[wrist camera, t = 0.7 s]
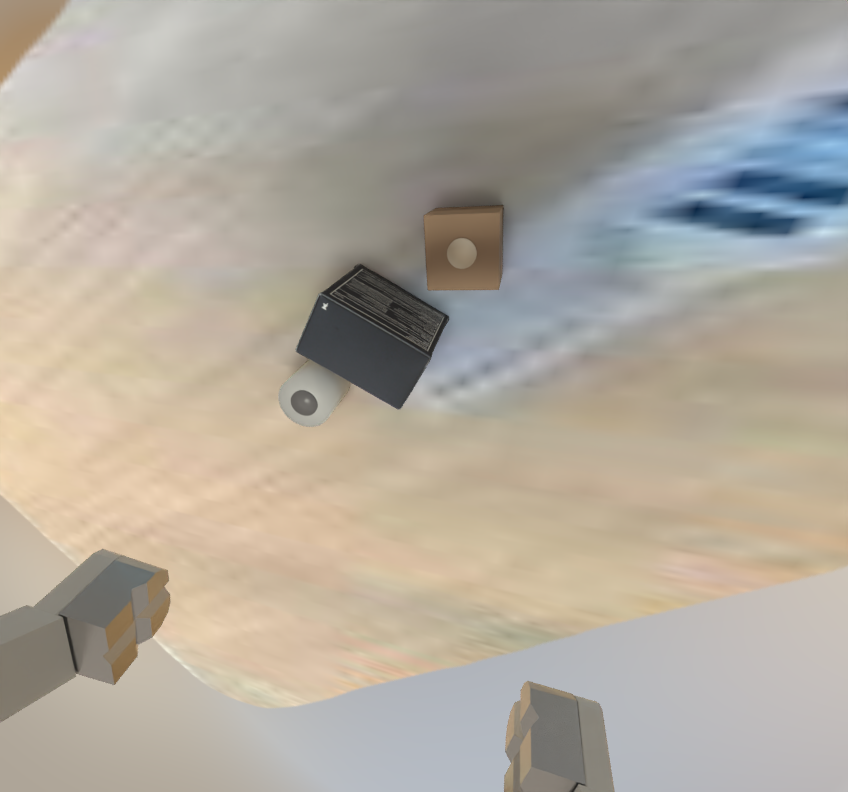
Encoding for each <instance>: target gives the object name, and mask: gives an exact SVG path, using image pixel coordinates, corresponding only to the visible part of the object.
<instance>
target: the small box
mask: <svg viewBox="0 0 848 792" xmlns="http://www.w3.org/2000/svg"><path fill="white" fill-rule="evenodd" d="M448 321H449V317H448V316H447V315H445V314H443V313H442V312H440V311H438V310H437V309H435V308H433V307H432V306H430V305H428V304H426V303H425V302H423V301H421V300H420V299H418V298H416V297H415V296H413V295H411V294H410V293H408V292H406V291H405V290H403V289H401V288H400V287H398V286H396V285H395V284H393V283H391V282H389V281H388V280H386V279H384V278H383V277H381V276H379V275H378V274H376V273H374V272H372V271H371V270H369V269H367V268H365V267H364V266H362V265H361V264H360V265H357V266H355V267H354V269H353V270H352V271H350V272H349V273H348V274H346V275H345V276H343V277H342V278H341V279H340V280H338V281H337V282H336V283H334V284H333V285H332V286H330V287H329V288H328V289H326V290H325V291H323V292H321V293H319V294H318V297H317V300H316V302H315V304H314V307H313V309H312V312H311V314H310V316H309V319H308V321H307V324H306V326H305V328H304V331H303V333H302V335H301V338H300V340H299V343H298V345H297V347H296V352H297V353H299V354H301V355H303V356H305V357H307V358H308V359H310V360H312V361H313V362H315V363H317V364H319V365H321V366H322V367H324V368H326V369H328V370H330V371H331V372H333V373H335V374H337V375H338V376H340V377H342V378H344V379H346V380H347V381H349V382H351V383H353V384H354V385H356V386H358V387H360V388H361V389H363V390H365V391H367V392H368V393H370V394H372V395H374V396H375V397H377V398H379V399H381V400H382V401H384V402H386V403H388V404H389V405H391V406H393V407H395V408H396V409H401V407H402V406H403V404H404V403H405V401H406V400H407V398H408V396H409V395H410V393H411V392H412V390H413V388H414V387H415V385H416V383H417V382H418V380H419V378H420V377H421V375H422V373H423V371H424V370H425V368H426V366H427V365H428V363H429V362H430V360H431V357H432V352H433V351H434V348H435V346H436V344H437V342H438V340H439V338H440V336H441V333H442V331H443V329H444V327H445V326H446V324H447V322H448Z"/></svg>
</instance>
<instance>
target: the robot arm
mask: <svg viewBox="0 0 848 792" xmlns="http://www.w3.org/2000/svg"><path fill="white" fill-rule="evenodd" d="M168 581H169V576H168V570H166V569H163V568H160V567H157V566H154V565H151V564H147V563H144V562H141V561H138V560H135V559H132V558H129V557H126V556H124V555H121V554H117V553H114V552H111V551H108V550H104V549H102V550H100V551H97V552H95V553H93V554H92V555H91V556H90V557H89V558H88V559H86V560H85V561H84V562H83V563H82V564H81V565H80V566H79V567H78V568H76V569H75V570H74V571H73V572H72V573H71V574H70V575H69V576H68V577H66V578H65V579H64V580H63V581H62V582H61V583H60V584H58V585H57V586H56V587H55V588H54V589H53V590H52V591H51V592H50V593H48V594H47V595H46V596H45V597H44V598H43V599H42V600H41V601H39V602H38V603H37V604H36V605H35V606H34V607H31V606H28V605H26V606H24V607H21V608H19V609H16V610H14V611H11V612H9V613H6V614H4V615H2V616H0V722H2V721H4V720H5V719H7V718H9V717H10V716H12V715H14V714H15V713H17V712H19V711H20V710H22V709H23V708H25V707H27V706H28V705H30V704H31V703H33V702H35V701H37V700H38V699H40V698H41V697H43V696H45V695H46V694H48V693H50V692H51V691H53V690H55V689H56V688H58V687H59V686H61V685H63V684H65V683H66V682H68V681H69V680H71V679H73V678H74V677H76V674H79V675H82V676H86V677H89V678H93V679H96V680H99V681H103V682H106V683H110V684H112V685H115V684H116V682H117V681H118V680H119V679H120V677H121V676H122V675H123V674H124V672H125V671H126V670H127V669H128V667H129V666H130V665H131V663H132V662H133V661H134V660H135V658H136V657H137V655H138V644H140V643H142V642H144V641H146V640H148V639H150V638H152V637H153V636H154V634H155V633H156V632H157V630H158V629H159V628H160V626H161V625H162V623H163V621H164V619H165V617H166V615H167V613H168V610H169V606H170V594H169V592H168V591H167V590H166V588H165V587H164V586H165V585H166V584H167V582H168ZM505 752H506V754H507V756H508V758H509V760H510V762H511V765H510V767H509V768H508V770H507V772H506V774H505V778H504V792H614V786H613V779H612V772H611V765H610V758H609V752H608V745H607V739H606V732H605V725H604V719H603V712H602V708H601V706H600V704H599V703H597V702H595V701H592V700H588V699H585V698H581V697H578V696H574V695H573V694H571V693H567V692H564V691H560V690H557V689H554V688H550V687H547V686H543V685H540V684H536V683H533V682H529V681H527V682H525V683H524V685H523V687H522V689H521V700H520V701H517V702H515V703H514V705H513V708H512V710H511V712H510V716H509V720H508V725H507V733H506V747H505Z"/></svg>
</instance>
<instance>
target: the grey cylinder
mask: <svg viewBox="0 0 848 792" xmlns="http://www.w3.org/2000/svg"><path fill="white" fill-rule="evenodd" d="M349 388H350V382H349V381H347V380H346V379H344V378H342V377H340V376H338V375H337V374H335V373H333V372H331V371H330V370H328V369H326V368H324V367H322V366H321V365H319V364H317V363H315V362H313V361H312V360H310V359H309V360H308V361H307V362H306V363H305V364H304V365H303V366H302V367H301V368H299V369H298V370H297V371H296V372H295V373H294V374H293V375H292V376H291V377H290V378H289V379H288V380H287V381H286V382H285V383H284V384H283V385H282V386H281V388H280V390H279V403H280V406H281V409H282V410H283V412H284V413H285V415H286V416H287V417H288V418H289V419H291V420H292V421H293V422H295V423H297V424H299V425H302V426H306V427H314V426H318V425H321V424H322V423H324V422H325V421H326V420H327V419H328V418H329V416H330V415H331V414H332V412H333V411H334V410H335V408H336V407H337V406H338V404H339V403H340V402H341V400H342V399H343V398H344V396H345V395H346V394H347V392H348V391H349Z"/></svg>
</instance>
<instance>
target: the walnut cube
mask: <svg viewBox="0 0 848 792" xmlns="http://www.w3.org/2000/svg"><path fill="white" fill-rule="evenodd" d="M424 231H425V250H426V269H427V287H428V290H499V287H500V282H501V278H502V267H503V205H496V206H473V207H449V208H435V209H434V210H432V211H430V212H429V213H427V214H425V215H424Z"/></svg>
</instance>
